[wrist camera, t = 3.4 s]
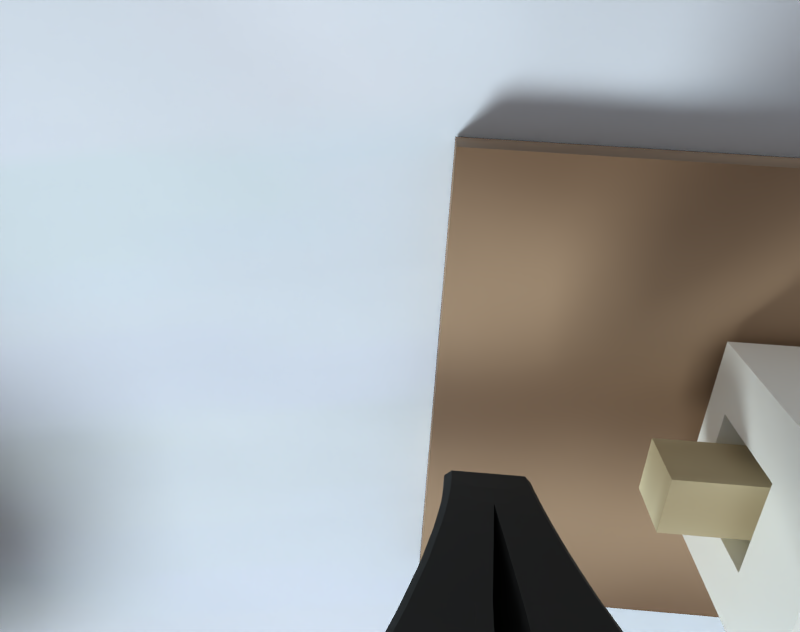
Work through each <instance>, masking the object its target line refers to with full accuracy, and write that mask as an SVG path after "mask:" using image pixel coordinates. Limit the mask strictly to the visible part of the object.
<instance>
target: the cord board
mask: <svg viewBox="0 0 800 632" xmlns="http://www.w3.org/2000/svg"><path fill="white" fill-rule="evenodd" d="M727 342H741V343H755V344H769V345H782V346H796V347H800V158H790V157H774V156H758V155H742V154H726V153H710V152H694V151H678V150H662V149H645V148H629V147H613V146H597V145H581V144H565V143H549V142H533V141H517V140H501V139H484V138H468V137H456V138H455V149H454V161H453V173H452V185H451V197H450V208H449V220H448V232H447V244H446V256H445V267H444V279H443V291H442V303H441V315H440V327H439V338H438V350H437V362H436V374H435V386H434V397H433V409H432V421H431V433H430V445H429V456H428V468H427V480H426V492H425V504H424V515H423V527H422V539H421V551H420V561H421V558H422V556H423V553H424V551H425V548H426V546H427V543H428V540H429V538H430V535H431V533H432V530H433V527H434V524H435V521H436V518H437V514H438V511H439V507H440V504H441V499H442V492H443V482H444V475H445V474H447V473H448V472H450V471H451V470H453V471H466V472H478V473H490V474H503V475H515V476H525V477H526V478H527V479H528V480H529V481H530V483H531V485H532V487H533V489H534V491H535V493H536V495H537V497H538V499H539V501H540V503H541V504H542V506H543V508H544V510H545V512H546V514H547V516H548V517H549V519H550V521H551V523H552V524H553V526H554V528H555V530H556V531H557V533H558V535H559V537H560V538H561V540H562V542H563V543H564V545H565V547H566V548H567V550H568V552H569V553H570V555H571V556H572V558H573V559H574V561H575V563H576V564H577V566H578V567H579V569H580V570H581V572H582V573H583V575H584V577H585V578H586V580H587V581H588V583H589V584H590V586H591V587H592V589H593V590H594V592H595V593H596V595H597V596H598V598H599V599H600V600H601V602H602V603H603V605H604V606H605V607H610V608H621V609H632V610H644V611H655V612H666V613H678V614H689V615H700V616H711V617H719V616H718V613H717V611H716V609H715V607H714V605H713V602H712V600H711V598H710V596H709V593H708V591H707V589H706V587H705V584H704V582H703V580H702V578H701V575H700V573H699V571H698V569H697V566H696V564H695V562H694V560H693V558H692V555H691V553H690V551H689V549H688V546H687V544H686V542H685V540H684V537H683V535H691V536H703V537H715V538H727V539H739V540H751V539H752V536H753V534H754V531H755V528H756V526H757V523H758V520H759V518H760V515H761V512H762V510H763V507H764V504H765V502H766V499H767V497H768V494H769V491H770V489H771V486H772V482H771V481H770V479H769V478H768V476H767V475H766V473H765V472H764V471H763V469H762V468H761V466H760V465H759V463H758V462H757V460H756V459H755V457H754V456H753V455H752V453H751V452H750V450H749V449H748V447H747V446H746V445H734V444H722V443H709V442H697V440H698V437H699V433H700V430H701V427H702V424H703V420H704V417H705V414H706V410H707V407H708V404H709V400H710V397H711V394H712V391H713V387H714V384H715V381H716V377H717V374H718V371H719V367H720V364H721V361H722V358H723V354H724V351H725V348H726V344H727Z"/></svg>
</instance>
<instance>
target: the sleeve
mask: <svg viewBox="0 0 800 632" xmlns="http://www.w3.org/2000/svg"><path fill="white" fill-rule="evenodd" d="M697 442H709V443H722V444H734V445H746V446H747V447H748V449H749V450H750V452H751V453H752V455H753V456H754V457H755V459H756V460H757V462H758V463H759V465H760V466H761V468H762V469H763V471H764V472H765V473H766V475H767V476H768V478H769V479H770V481H771V482H772V486H771V489H770V491H769V494H768V497H767V499H766V502H765V504H764V507H763V510H762V512H761V515H760V518H759V520H758V523H757V526H756V528H755V531H754V534H753V536H752V539H751V540H739V539H727V538H715V537H703V536H691V535H683V537H684V540H685V542H686V544H687V546H688V549H689V551H690V553H691V555H692V558H693V560H694V562H695V564H696V566H697V569H698V571H699V573H700V575H701V578H702V580H703V582H704V584H705V587H706V589H707V591H708V593H709V596H710V598H711V600H712V602H713V605H714V607H715V609H716V611H717V613H718V616H719V618H720V620H721V622H722V625H723V627H724V629H725V631H726V632H800V347H796V346H782V345H769V344H755V343H741V342H727V344H726V348H725V351H724V354H723V358H722V361H721V364H720V367H719V371H718V374H717V377H716V381H715V384H714V387H713V391H712V394H711V397H710V400H709V404H708V407H707V410H706V414H705V417H704V420H703V424H702V427H701V430H700V433H699V437H698V440H697Z"/></svg>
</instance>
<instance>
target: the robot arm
mask: <svg viewBox="0 0 800 632" xmlns="http://www.w3.org/2000/svg"><path fill="white" fill-rule="evenodd" d="M386 632H623V631H622V630H621V628H620V627H619V626H618V624H617V623H616V621H615V620H614V619H613V617H612V616H611V614H610V613H609V612H608V610H607V609H606V608H605V606H604V605H603V603H602V602H601V600H600V599H599V598H598V596H597V595H596V593H595V592H594V590H593V589H592V587H591V586H590V584H589V583H588V581H587V580H586V578H585V577H584V575H583V573H582V572H581V570H580V569H579V567H578V566H577V564H576V563H575V561H574V559H573V558H572V556H571V555H570V553H569V552H568V550H567V548H566V547H565V545H564V543H563V542H562V540H561V538H560V537H559V535H558V533H557V531H556V530H555V528H554V526H553V524H552V523H551V521H550V519H549V517H548V516H547V514H546V512H545V510H544V508H543V506H542V504H541V503H540V501H539V499H538V497H537V495H536V493H535V491H534V489H533V487H532V485H531V483H530V481H529V480H528V479H527V478H526V477H525V476H515V475H503V474H490V473H478V472H466V471H453V470H451V471H450V472H448V473H447V474H445V475H444V482H443V492H442V499H441V504H440V507H439V511H438V514H437V518H436V521H435V524H434V527H433V530H432V533H431V535H430V538H429V540H428V543H427V546H426V548H425V551H424V553H423V556H422V558H421V561H420V563H419V566H418V568H417V570H416V572H415V574H414V576H413V578H412V581H411V583H410V585H409V587H408V589H407V591H406V593H405V595H404V597H403V599H402V601H401V603H400V606H399V607H398V609H397V611H396V613H395V615H394V617H393V619H392V621H391V623H390V624H389V626H388V628H387V630H386Z"/></svg>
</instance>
